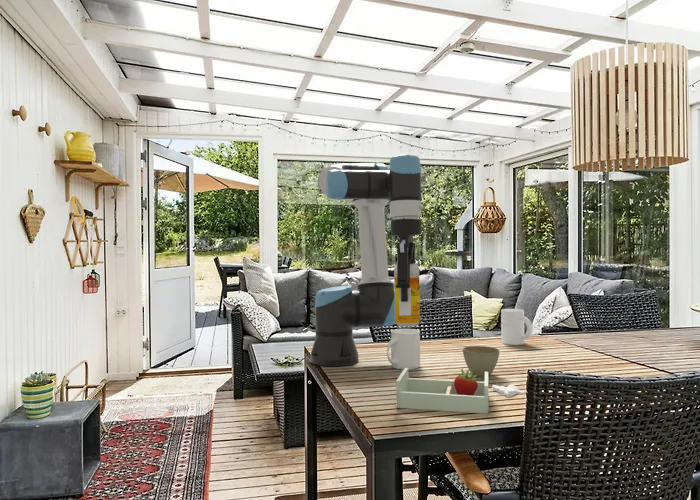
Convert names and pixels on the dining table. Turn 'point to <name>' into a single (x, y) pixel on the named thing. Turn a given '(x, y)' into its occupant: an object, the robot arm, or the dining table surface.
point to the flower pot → (481, 359)
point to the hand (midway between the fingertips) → (407, 313)
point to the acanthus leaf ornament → (507, 390)
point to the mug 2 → (514, 326)
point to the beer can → (415, 299)
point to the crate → (439, 395)
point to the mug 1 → (404, 348)
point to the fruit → (465, 383)
